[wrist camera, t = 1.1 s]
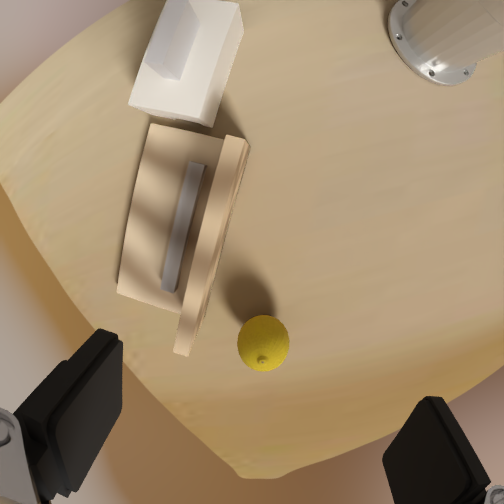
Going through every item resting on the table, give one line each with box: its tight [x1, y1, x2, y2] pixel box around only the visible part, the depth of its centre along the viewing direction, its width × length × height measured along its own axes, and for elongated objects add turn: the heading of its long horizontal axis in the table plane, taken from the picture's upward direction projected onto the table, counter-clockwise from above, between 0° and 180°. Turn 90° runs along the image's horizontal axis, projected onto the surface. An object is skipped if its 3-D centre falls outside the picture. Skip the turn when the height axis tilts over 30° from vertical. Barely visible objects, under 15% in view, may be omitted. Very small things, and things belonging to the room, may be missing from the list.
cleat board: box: [117, 123, 251, 357], centre depth 31 cm, size 20×11×9 cm, turn 164°
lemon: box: [237, 315, 289, 371], centre depth 34 cm, size 6×6×8 cm
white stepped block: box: [128, 0, 244, 128], centre depth 25 cm, size 12×7×12 cm, turn 164°
